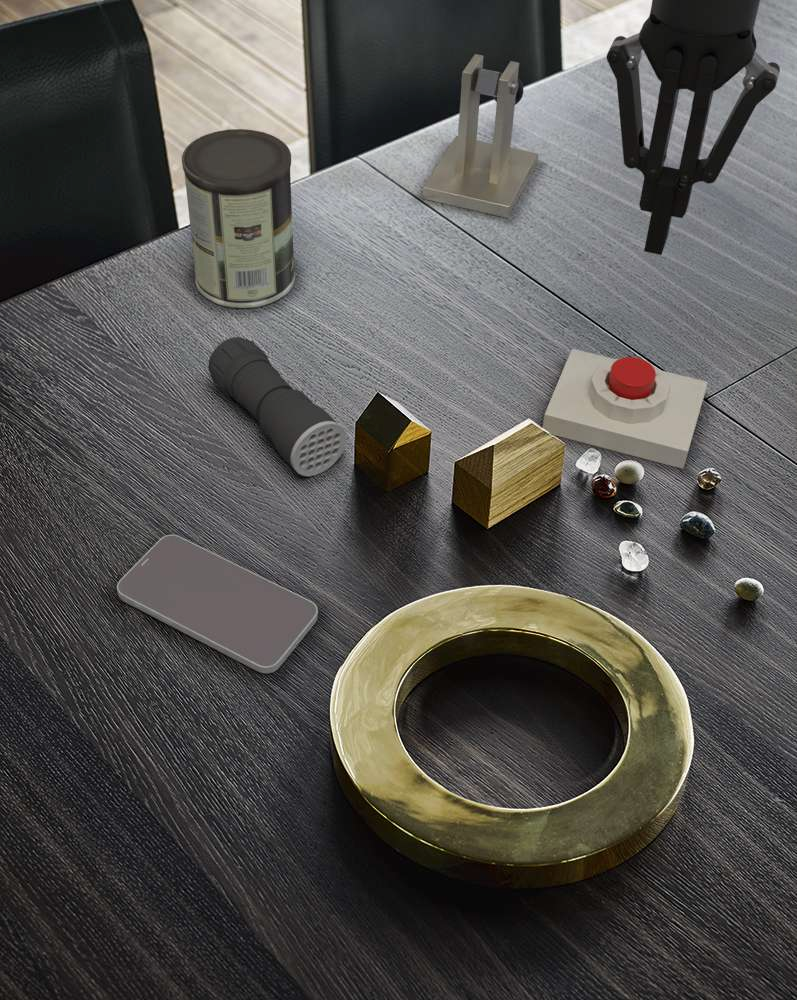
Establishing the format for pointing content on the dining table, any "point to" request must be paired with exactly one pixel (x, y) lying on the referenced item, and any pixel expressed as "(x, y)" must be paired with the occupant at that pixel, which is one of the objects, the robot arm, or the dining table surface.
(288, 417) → the flashlight
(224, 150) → the coffee can
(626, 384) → the stop button
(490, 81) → the lever
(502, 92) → the stand
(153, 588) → the smartphone
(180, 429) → the dining table surface
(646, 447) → the stop box
